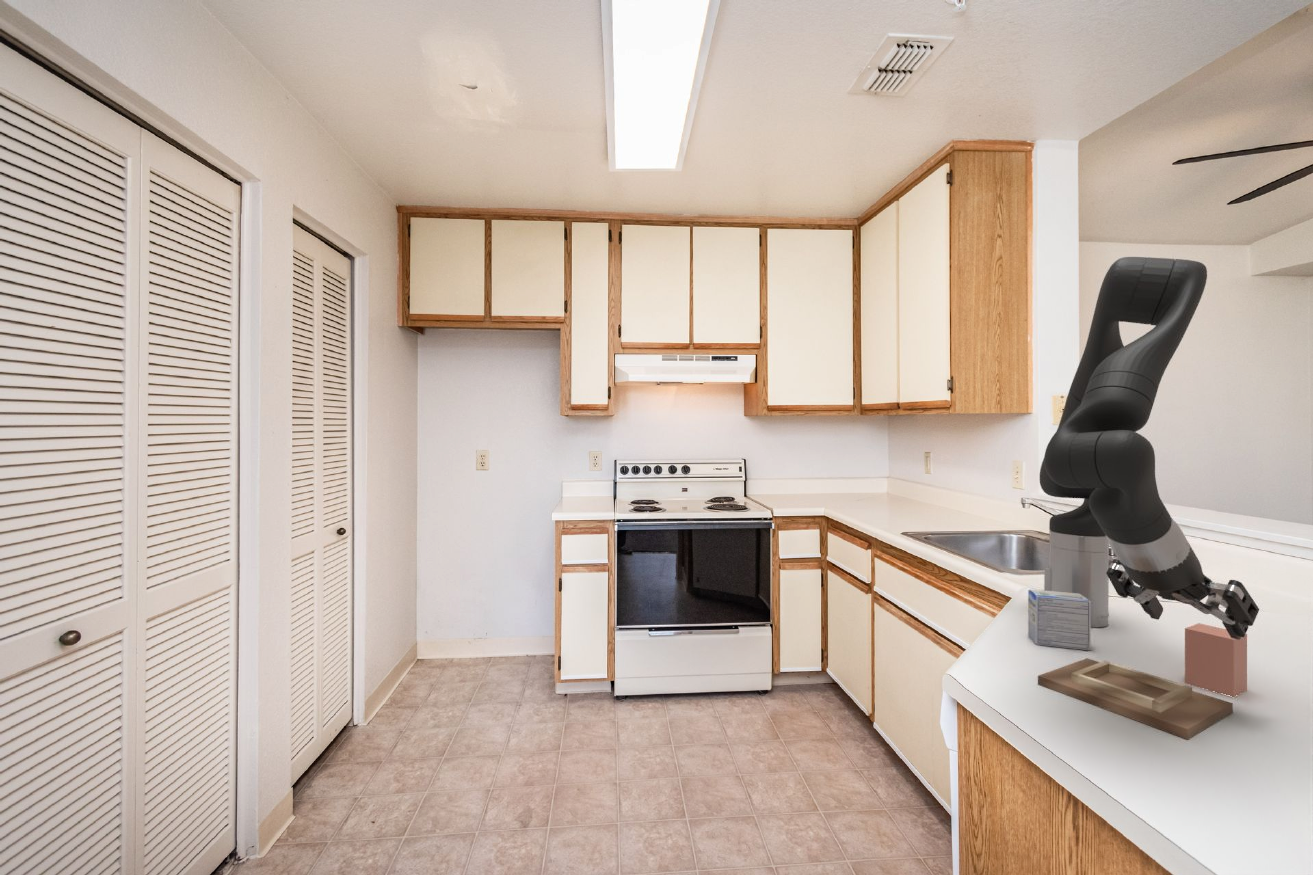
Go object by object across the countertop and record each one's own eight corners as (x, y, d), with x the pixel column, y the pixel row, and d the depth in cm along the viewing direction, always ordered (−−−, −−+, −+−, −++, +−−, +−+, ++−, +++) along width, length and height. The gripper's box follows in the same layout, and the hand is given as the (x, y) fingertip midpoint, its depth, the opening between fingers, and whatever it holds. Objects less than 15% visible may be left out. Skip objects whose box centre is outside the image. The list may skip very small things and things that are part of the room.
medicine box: (1080, 642, 93) (1080, 593, 93) (1091, 651, 89) (1091, 600, 89) (1027, 636, 96) (1027, 588, 96) (1036, 645, 91) (1036, 595, 92)
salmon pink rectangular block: (1184, 683, 77) (1184, 628, 78) (1198, 676, 80) (1198, 623, 80) (1233, 697, 73) (1233, 639, 73) (1247, 690, 75) (1247, 633, 75)
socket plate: (1037, 683, 77) (1037, 667, 77) (1086, 665, 83) (1087, 650, 83) (1187, 739, 62) (1187, 719, 62) (1232, 712, 69) (1232, 693, 69)
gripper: (1234, 535, 65) (1279, 618, 69) (1100, 518, 78) (1144, 589, 82) (1212, 582, 63) (1259, 665, 67) (1077, 557, 76) (1124, 628, 80)
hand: (1196, 623), depth 75 cm, fingers open, 8 cm apart
